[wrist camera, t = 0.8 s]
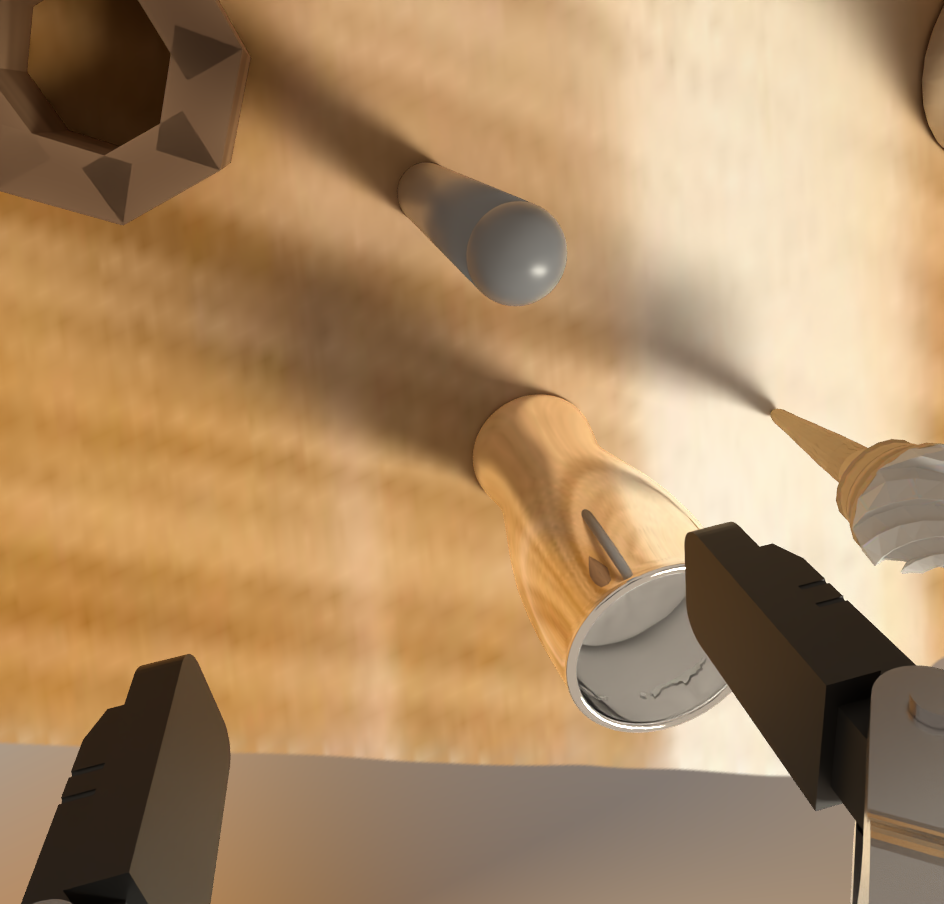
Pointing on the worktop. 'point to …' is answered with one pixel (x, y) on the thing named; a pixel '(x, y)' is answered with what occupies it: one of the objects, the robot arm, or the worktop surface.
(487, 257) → the grey rounded rod
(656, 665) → the beer glass
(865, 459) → the ice cream cone
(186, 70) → the bead
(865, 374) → the worktop surface
